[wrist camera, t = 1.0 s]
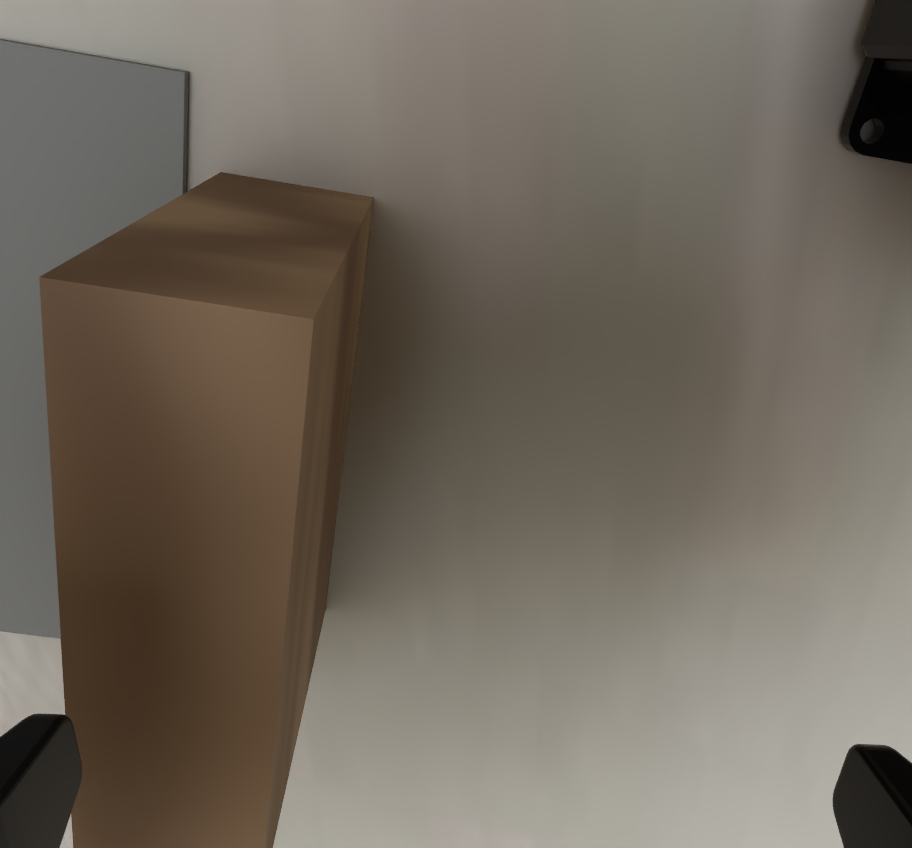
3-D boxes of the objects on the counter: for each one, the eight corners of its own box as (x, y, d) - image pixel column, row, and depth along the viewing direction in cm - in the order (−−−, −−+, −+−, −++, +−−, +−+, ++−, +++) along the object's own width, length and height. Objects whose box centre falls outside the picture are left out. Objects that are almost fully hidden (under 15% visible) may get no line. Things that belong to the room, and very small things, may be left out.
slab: (373, 197, 19) (313, 319, 11) (325, 608, 24) (259, 903, 16) (221, 171, 18) (39, 276, 10) (205, 592, 23) (75, 885, 15)
